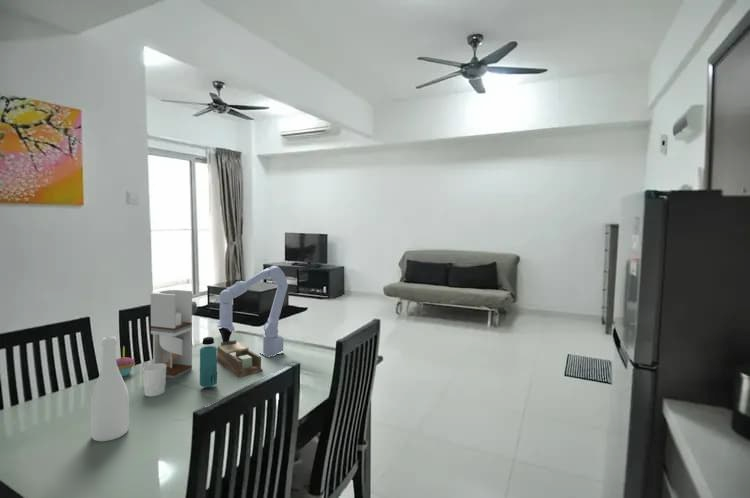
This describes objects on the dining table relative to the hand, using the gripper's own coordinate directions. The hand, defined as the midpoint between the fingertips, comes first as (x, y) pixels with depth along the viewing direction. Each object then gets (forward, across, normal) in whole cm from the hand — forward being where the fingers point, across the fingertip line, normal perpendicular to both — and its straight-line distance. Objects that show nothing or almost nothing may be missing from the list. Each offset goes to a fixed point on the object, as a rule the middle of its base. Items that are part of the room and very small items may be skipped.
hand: (225, 343), depth 187 cm
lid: (+1, +8, 0) cm, 8 cm away
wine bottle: (+7, +44, -54) cm, 70 cm away
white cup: (+7, +21, -36) cm, 42 cm away
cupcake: (+7, -6, -41) cm, 42 cm away
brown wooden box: (+7, +14, 0) cm, 16 cm away
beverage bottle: (+7, +29, -19) cm, 35 cm away
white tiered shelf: (+7, +4, -25) cm, 26 cm away
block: (+6, +20, 0) cm, 21 cm away
